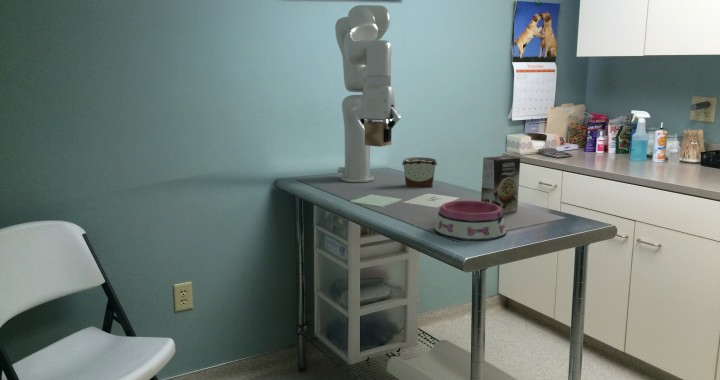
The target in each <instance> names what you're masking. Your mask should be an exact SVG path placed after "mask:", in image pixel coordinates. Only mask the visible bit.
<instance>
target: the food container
mask: <svg viewBox="0 0 720 380" xmlns="http://www.w3.org/2000/svg"><path fill="white" fill-rule="evenodd" d="M401 166H403V172H404V184H405V187H406V188H433V186H434V178H435V171H436V166H438V162H437V160H436V158H431V157H424V156H423V157H418V156H417V157H406V158H403V160H402V163H401Z"/></svg>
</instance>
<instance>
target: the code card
mask: <svg viewBox="0 0 720 380" xmlns="http://www.w3.org/2000/svg"><path fill="white" fill-rule="evenodd" d="M459 199H460V197H457V196H456V197H455V196H449V195H441V194H433V193H429V192H428V193H426V194H425V193H424V194H422V195H419V196H416V197H413V198H411V199H408V200H406V201H402V204H403V203H405V204H411V205H418V206H424V207H429V208H431V207H432V208H435V209H437V208H439V207H441V206H442V205H443V204H444V203H447V202H452V201H458V200H459Z"/></svg>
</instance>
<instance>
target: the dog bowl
mask: <svg viewBox="0 0 720 380" xmlns="http://www.w3.org/2000/svg"><path fill="white" fill-rule="evenodd" d="M504 220H505V219H504V214H503V213H502V210H501V208H500V207H499V206H498V205H495V204H492V203H487V202H481V200H454V201H452V202H447V203H444V204H443V205H442V206H440V208H439V211H438V213H437V218H436V222H435V225H434V228H433V231H434V233H436V234H437V235H438V236H441V237H444V238H447V239H452V240H458V241H465V242H466V241H467V242H486V241H495V240H500V239H502V238H504V237H505V236H506V235H507V229H506V226H505V221H504Z"/></svg>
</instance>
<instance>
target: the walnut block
mask: <svg viewBox="0 0 720 380" xmlns="http://www.w3.org/2000/svg"><path fill="white" fill-rule="evenodd" d="M384 129H385V125H384V122H383V120H380V121H373V122H365V145H368V146H370V147H378V148H379V147H380V148H381V147H387V146H390V145H392V140H391V141H390V142H384ZM392 129H393V128H392ZM392 129H391V133H392V132H393V131H392Z"/></svg>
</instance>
